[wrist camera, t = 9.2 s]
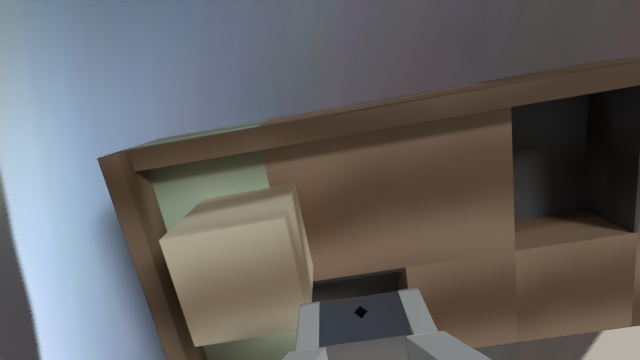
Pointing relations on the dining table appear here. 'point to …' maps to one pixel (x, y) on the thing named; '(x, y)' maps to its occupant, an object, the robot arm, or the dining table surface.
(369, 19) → the dining table surface
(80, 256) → the dining table surface
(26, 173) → the dining table surface
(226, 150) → the board
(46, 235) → the dining table surface
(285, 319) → the maple block
